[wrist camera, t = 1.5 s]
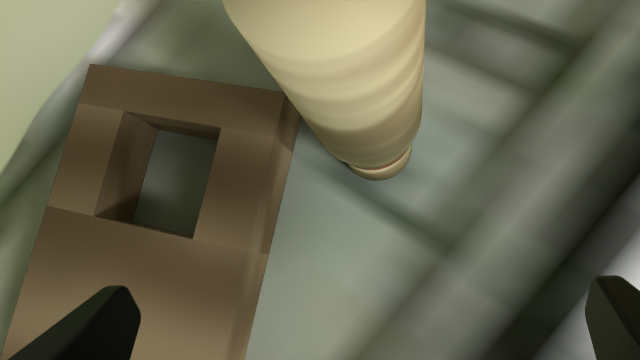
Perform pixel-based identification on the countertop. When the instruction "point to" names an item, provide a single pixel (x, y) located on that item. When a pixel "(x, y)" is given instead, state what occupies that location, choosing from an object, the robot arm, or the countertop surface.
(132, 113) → the walnut board
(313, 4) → the ash peg
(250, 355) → the countertop surface
